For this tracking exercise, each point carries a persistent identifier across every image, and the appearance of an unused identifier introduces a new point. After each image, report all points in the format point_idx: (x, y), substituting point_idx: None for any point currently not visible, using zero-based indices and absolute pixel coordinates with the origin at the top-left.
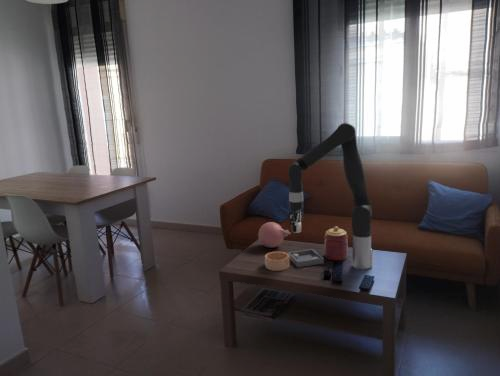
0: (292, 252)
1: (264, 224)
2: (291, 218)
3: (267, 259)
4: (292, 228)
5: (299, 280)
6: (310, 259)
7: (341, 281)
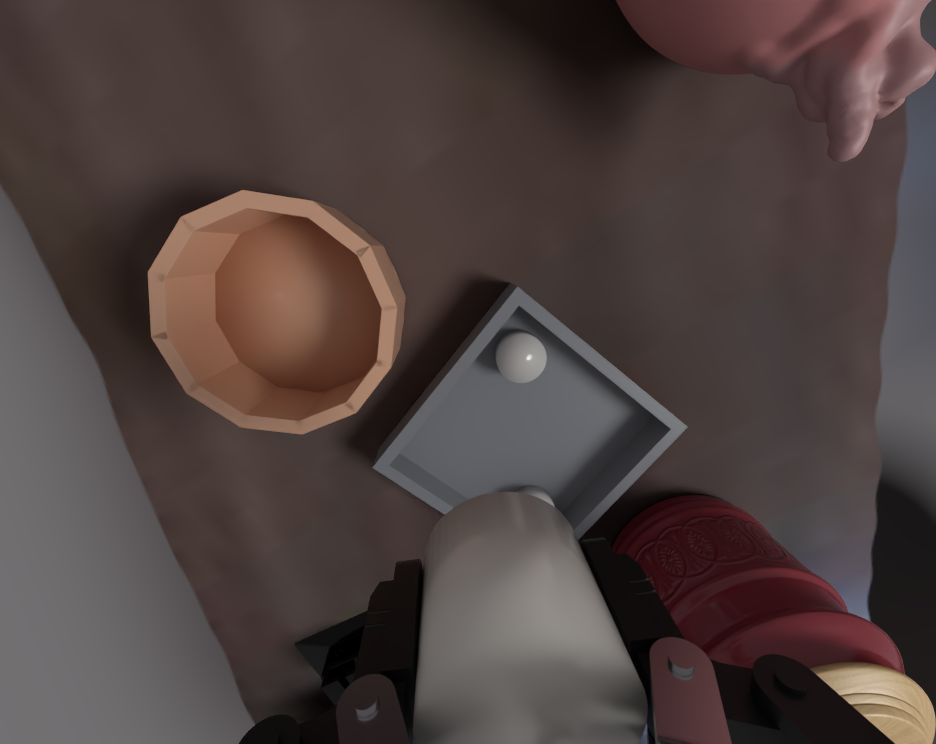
0: (539, 321)
1: None
2: None
3: (153, 282)
4: (363, 635)
5: (208, 556)
6: None
7: None
